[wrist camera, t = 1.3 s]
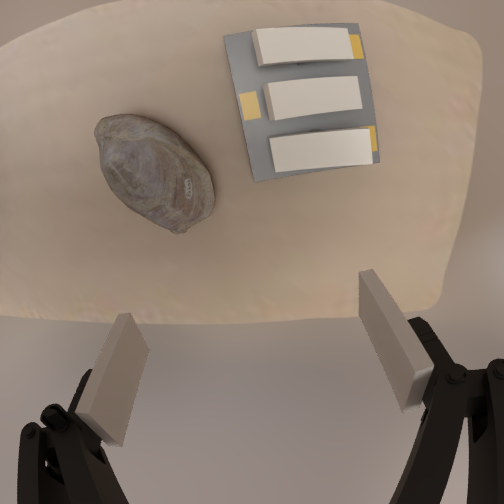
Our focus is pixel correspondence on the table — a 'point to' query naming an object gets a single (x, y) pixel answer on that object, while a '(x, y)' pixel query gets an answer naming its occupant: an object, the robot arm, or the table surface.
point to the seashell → (154, 171)
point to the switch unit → (261, 128)
